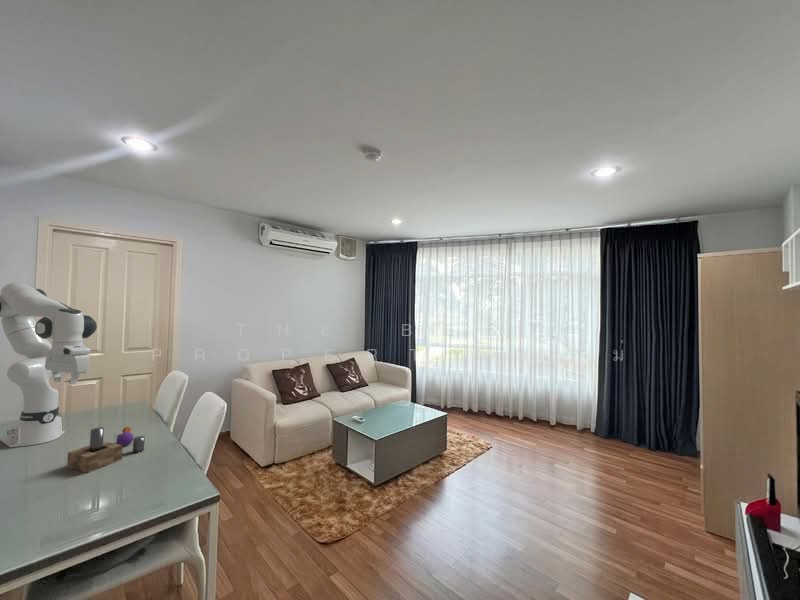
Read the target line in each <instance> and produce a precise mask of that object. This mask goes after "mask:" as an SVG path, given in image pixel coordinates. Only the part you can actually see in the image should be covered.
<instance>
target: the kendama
mask: <svg viewBox="0 0 800 600" xmlns="http://www.w3.org/2000/svg"><path fill="white" fill-rule="evenodd" d="M131 430H132V429H131V427H129V426H126V427H124V428H123V429H122V433H121V434H119V435H118V436H117V438H116V444H119V445H123V447H126V445H127V446H129V445H131V443H133V439H134V434H133V433H132V431H131Z"/></svg>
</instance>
